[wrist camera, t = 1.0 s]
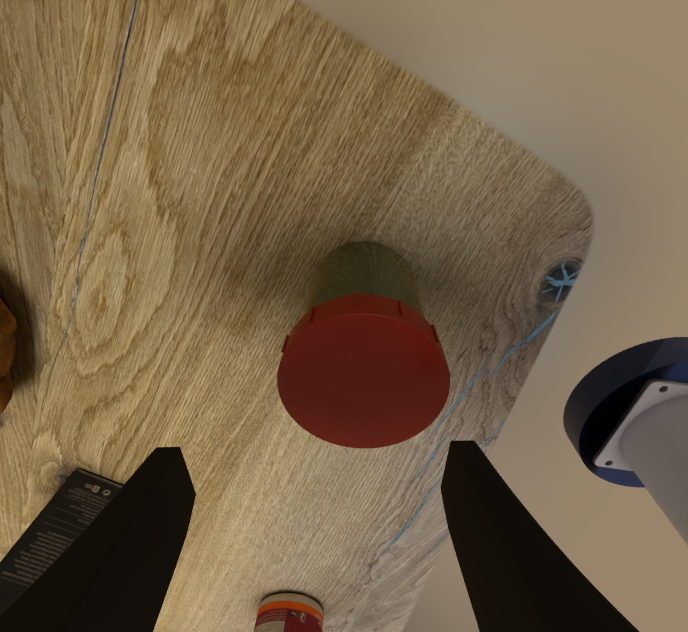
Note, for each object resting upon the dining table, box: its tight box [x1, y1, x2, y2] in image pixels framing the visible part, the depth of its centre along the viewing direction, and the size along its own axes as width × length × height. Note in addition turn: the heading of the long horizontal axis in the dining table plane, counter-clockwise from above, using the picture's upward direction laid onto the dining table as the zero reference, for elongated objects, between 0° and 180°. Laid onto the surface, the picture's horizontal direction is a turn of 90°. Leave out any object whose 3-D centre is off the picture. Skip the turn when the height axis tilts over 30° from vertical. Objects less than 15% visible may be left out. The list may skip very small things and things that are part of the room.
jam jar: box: [303, 242, 425, 318], centre depth 16 cm, size 5×5×7 cm
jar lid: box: [277, 292, 450, 448], centre depth 13 cm, size 6×6×1 cm
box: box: [0, 469, 123, 614], centre depth 25 cm, size 8×6×11 cm
